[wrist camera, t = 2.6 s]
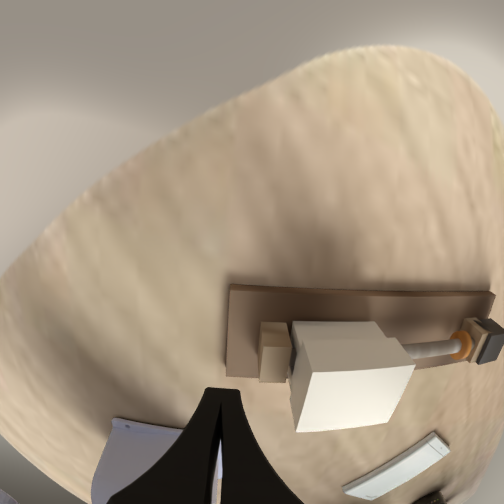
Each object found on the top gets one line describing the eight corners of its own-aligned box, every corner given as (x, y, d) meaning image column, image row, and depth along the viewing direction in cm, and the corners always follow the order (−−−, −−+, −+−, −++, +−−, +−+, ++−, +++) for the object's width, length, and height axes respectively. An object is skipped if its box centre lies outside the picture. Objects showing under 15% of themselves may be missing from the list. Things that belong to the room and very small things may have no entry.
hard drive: (372, 501, 25) (452, 452, 23) (343, 493, 23) (437, 437, 21) (369, 492, 27) (447, 444, 24) (340, 483, 25) (431, 427, 22)
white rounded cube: (284, 369, 17) (295, 432, 12) (294, 313, 15) (312, 372, 11) (360, 367, 17) (387, 422, 12) (376, 314, 16) (415, 364, 11)
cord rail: (226, 368, 18) (223, 407, 14) (230, 283, 16) (226, 316, 13) (465, 354, 19) (487, 378, 15) (489, 291, 17) (517, 310, 13)
